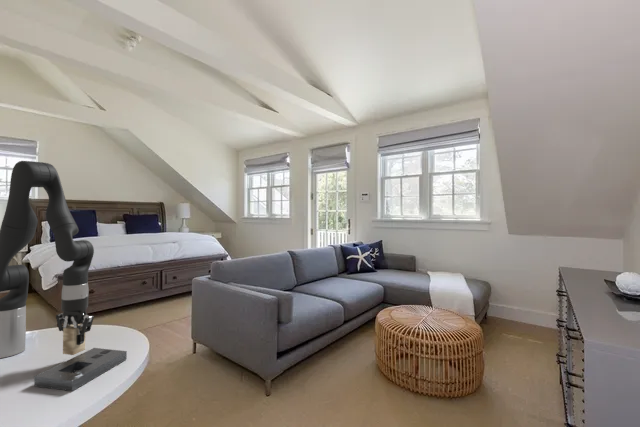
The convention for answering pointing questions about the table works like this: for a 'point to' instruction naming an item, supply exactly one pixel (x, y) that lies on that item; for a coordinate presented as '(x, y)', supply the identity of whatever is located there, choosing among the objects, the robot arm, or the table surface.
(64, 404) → the table surface
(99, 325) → the table surface
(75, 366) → the metal socket plate
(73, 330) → the maple block
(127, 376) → the table surface
